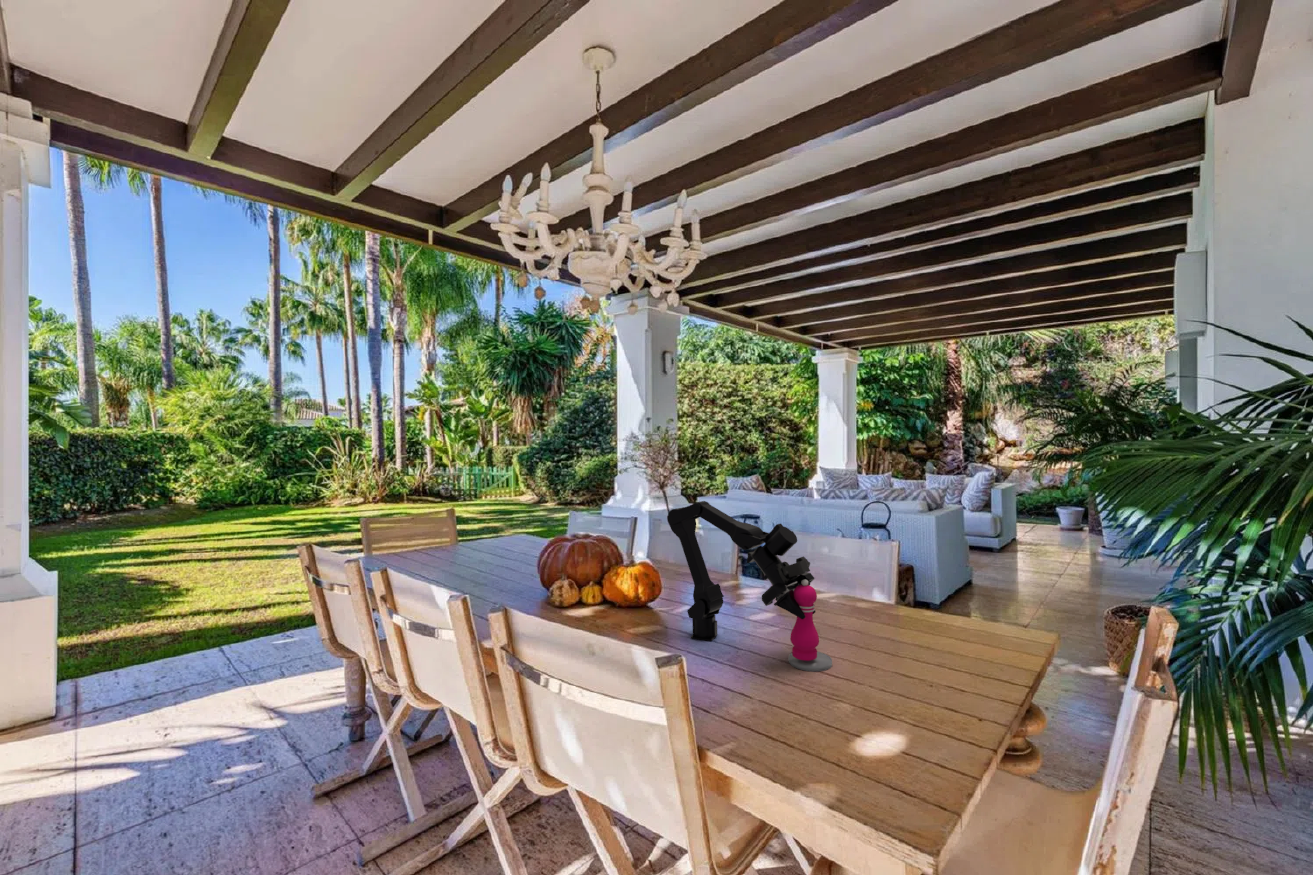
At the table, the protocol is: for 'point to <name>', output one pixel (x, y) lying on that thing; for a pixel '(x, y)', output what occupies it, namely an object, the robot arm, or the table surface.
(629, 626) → the table surface
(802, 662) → the slate coaster
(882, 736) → the table surface
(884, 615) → the table surface
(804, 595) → the pepper mill
